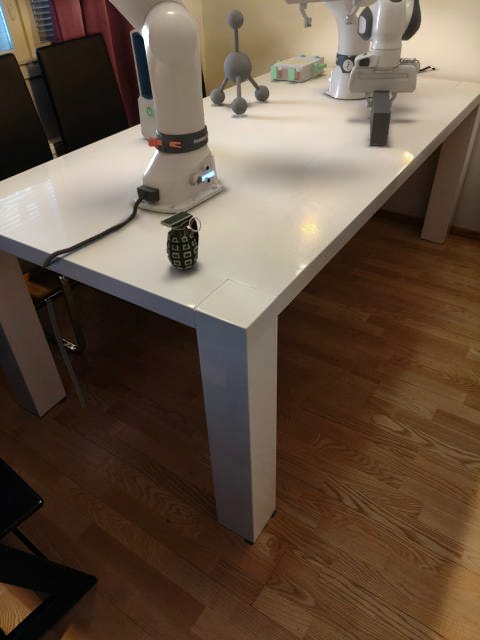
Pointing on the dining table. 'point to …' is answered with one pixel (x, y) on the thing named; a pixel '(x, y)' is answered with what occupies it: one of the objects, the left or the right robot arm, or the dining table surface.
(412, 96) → the dining table surface
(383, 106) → the bar
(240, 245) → the dining table surface
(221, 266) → the dining table surface
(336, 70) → the right robot arm
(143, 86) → the electronic device
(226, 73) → the molecular model
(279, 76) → the grey green flat case
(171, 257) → the grenade
